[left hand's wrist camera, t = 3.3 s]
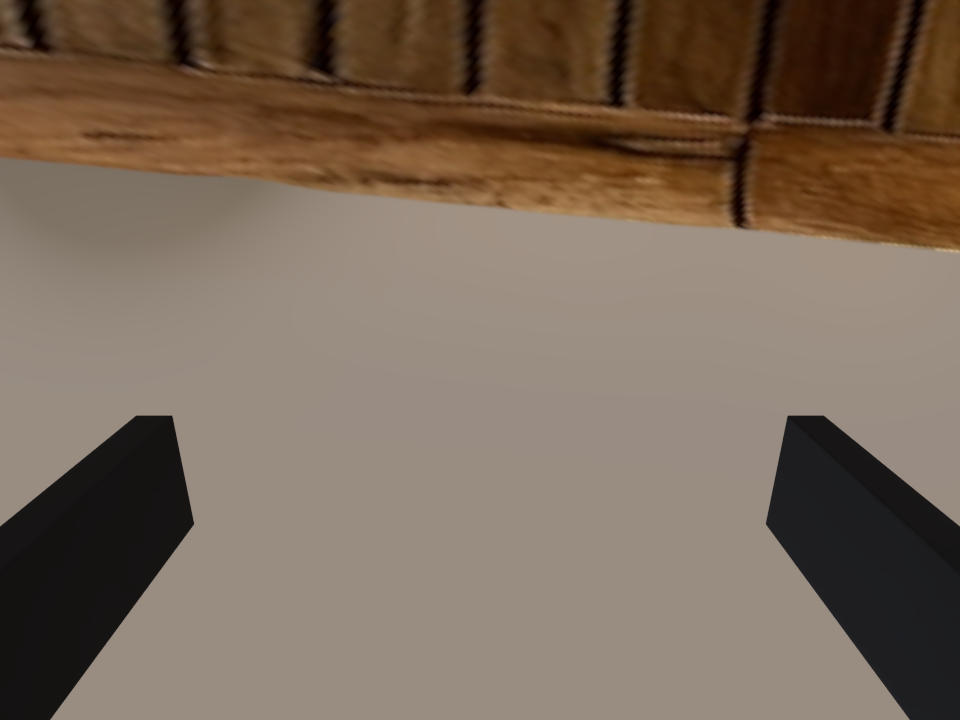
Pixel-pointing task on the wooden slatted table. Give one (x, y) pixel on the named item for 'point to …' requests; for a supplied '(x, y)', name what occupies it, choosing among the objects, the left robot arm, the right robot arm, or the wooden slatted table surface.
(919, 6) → the wooden slatted table surface
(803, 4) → the wooden slatted table surface
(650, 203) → the wooden slatted table surface
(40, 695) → the left robot arm
